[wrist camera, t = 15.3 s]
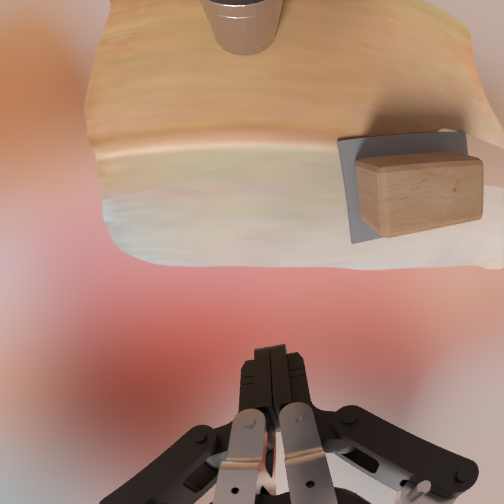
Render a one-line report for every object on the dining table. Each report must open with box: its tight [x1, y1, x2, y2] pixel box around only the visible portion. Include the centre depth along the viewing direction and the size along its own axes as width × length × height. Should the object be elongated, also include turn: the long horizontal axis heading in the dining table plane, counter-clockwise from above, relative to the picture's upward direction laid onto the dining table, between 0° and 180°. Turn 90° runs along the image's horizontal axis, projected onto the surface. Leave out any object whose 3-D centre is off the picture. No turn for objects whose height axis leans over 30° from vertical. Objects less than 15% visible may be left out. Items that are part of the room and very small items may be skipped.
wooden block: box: [355, 152, 483, 238], centre depth 35 cm, size 10×10×20 cm
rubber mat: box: [337, 132, 468, 244], centre depth 40 cm, size 17×27×1 cm, turn 103°
